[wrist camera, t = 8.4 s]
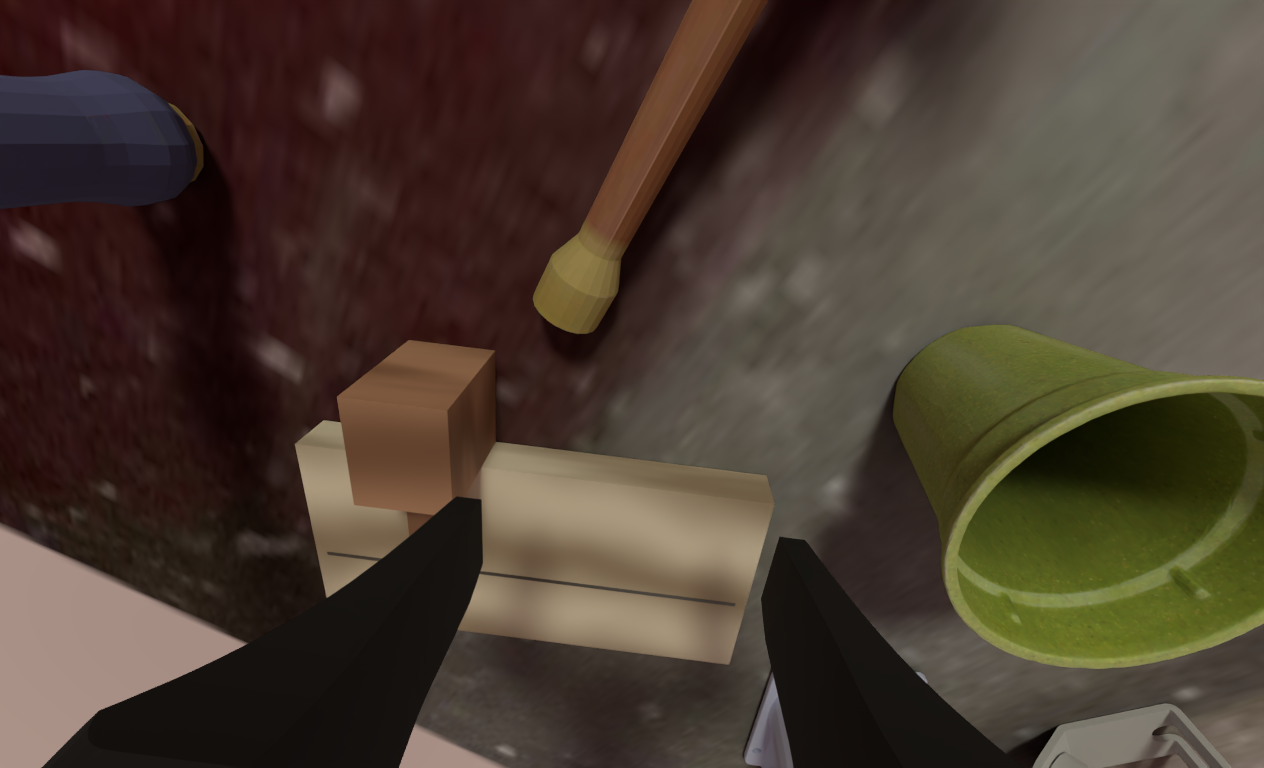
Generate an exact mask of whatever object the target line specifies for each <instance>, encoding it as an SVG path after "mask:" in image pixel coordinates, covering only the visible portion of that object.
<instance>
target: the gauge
mask: <svg viewBox="0 0 1264 768" xmlns="http://www.w3.org/2000/svg"><path fill="white" fill-rule="evenodd" d="M337 401H338V407H339V413H340V420H341V426H342V432H343V439H344V445H345V451H346V457H347V464H348V470H349V476H350V483H351V489H352V495H353V502H354V505H357V506H365V507H373V508H381V509H389V510H397V511H405V512H407V520H408V530H409V536H410V535H412V534H413V533H414V532H415V531H416V530H417V529H419V528H420V527H421V526H422V525H423V524H424V523H426V522H427V521H428V520H429V519H430V518H431V517H433V516H434V515H435V514H436V513H437V512H438V511H439V510H441V509H442V508H443V507H444V506H445V505H446V504H448V503H449V502H450V501H451V500H452V499H454V498H455V497H456V496H458V497H465V496H466V494H467V492H468V490H469V488H470V487H471V485H472V483H473V481H474V479H475V478H476V476H477V474H478V472H479V471H480V469H481V467H482V465H483V463H484V462H485V460H486V458H487V456H488V455H489V453H490V451H491V449H492V447H493V446H494V444H495V442H496V385H495V351H494V350H485V349H477V348H469V347H461V346H453V345H445V344H436V343H428V342H420V341H412V340H408V341H407V342H406V343H405V344H403V345H402V346H401V347H400V348H398V349H397V350H396V351H394V352H393V353H392V354H391V355H389V356H388V357H387V358H386V359H384V360H383V361H382V362H380V363H379V364H378V365H377V366H375V367H374V368H373V369H372V370H370V371H369V372H368V373H367V374H365V375H364V376H363V377H361V378H360V379H359V380H358V381H356V382H355V383H354V384H353V385H351V386H350V387H349V388H348V389H346V390H345V391H344V392H342V393H341V394H340V395H339V396H337Z"/></svg>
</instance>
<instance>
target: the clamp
mask: <svg viewBox="0 0 1264 768" xmlns="http://www.w3.org/2000/svg"><path fill="white" fill-rule="evenodd" d="M1168 725H1173V726H1175V727H1176V728H1177V729H1178V730H1179V731H1180V733H1181V734H1182V735H1183V736H1184V737H1185V738H1186V739H1187V741H1188V742H1189V743H1190V744H1191V745H1192V746H1193V748H1194V749H1195V750H1196V751H1197V752H1198V753H1199V755H1200V756H1201V757H1202V758H1203V759H1204V760H1205V762H1206V763H1207V764H1208V765H1209V766H1210V767H1211V768H1232V767H1231V766H1230V765H1229V764H1228V763H1227V761H1226V760H1225V759H1224V758H1223V757H1222V756H1221V755H1220V754H1219V752H1218V751H1217V750H1216V749H1215V748H1214V747H1213V746H1212V745H1211V744H1210V742H1209V741H1208V740H1207V739H1206V738H1205V737H1204V736H1203V735H1202V734H1201V732H1200V731H1199V730H1198V729H1197V728H1196V727H1195V726H1194V725H1193V723H1192V722H1191V721H1190V720H1189V719H1188V718H1187V717H1186V716H1185V715H1184V713H1183V712H1182V711H1181V710H1180V709H1179V708H1177V707H1176V706H1174V705H1171V704H1165V703H1164V704H1159V705H1155V706H1150V707H1145V708H1140V709H1135V710H1130V711H1125V712H1121V713H1116V714H1111V715H1106V716H1101V717H1096V718H1091V719H1087V720H1082V721H1077V722H1072V723H1067V724H1062V725H1060V726H1058V727H1057V729H1056V731H1055V732H1054V734H1053V735H1052V737H1051V738H1050V740H1049V741H1048V743H1047V744H1046V746H1045V747H1044V749H1043V750H1042V752H1041V753H1040V755H1039V756H1038V758H1037V760H1036V762H1035V764H1034V766H1033V768H1103V767H1108V766H1114V765H1119V764H1124V763H1130V762H1135V761H1141V760H1146V759H1151V758H1157V757H1162V756H1168V755H1173V754H1177V755H1179V756H1180V757H1181V758H1182V760H1183V761H1184V762H1185V763H1186V765H1187V766H1188V767H1189V768H1208V767H1207V766H1206V765H1205V764H1204V763H1203V761H1202V760H1201V759H1200V758H1199V757H1198V756H1197V754H1196V753H1195V752H1194V751H1193V750H1192V749H1191V747H1190V746H1189V745H1188V744H1187V743H1186V742H1185V740H1183V739H1182V738H1181V737H1179V736H1177V735H1174V734H1163V735H1158V736H1156V735H1152V733H1153V731H1154V730H1155V729H1157V728H1159V727H1162V726H1168Z"/></svg>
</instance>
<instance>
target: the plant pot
mask: <svg viewBox="0 0 1264 768" xmlns="http://www.w3.org/2000/svg"><path fill="white" fill-rule="evenodd" d="M893 420H894V424H895V427H896V429H897V431H898V433H899V436H900V438H901V440H902V443H903V445H904V447H905V449H906V451H907V453H908V455H909V457H910V459H911V462H912V464H913V466H914V468H915V470H916V472H917V474H918V477H919V479H920V481H921V483H922V485H923V488H924V490H925V492H926V494H927V496H928V499H929V501H930V503H931V505H932V508H933V510H934V512H935V514H936V516H937V519H938V523H939V534H940V540H941V543H942V550H941V572H942V579H943V583H944V586H945V589H946V592H947V595H948V597H949V599H950V601H951V603H952V605H953V607H954V609H955V611H956V612H957V613H958V615H959V616H960V618H961V619H962V620H963V621H964V622H965V624H966V625H967V626H968V627H969V628H970V629H972V630H973V631H974V632H975V633H976V634H977V635H979V636H980V637H982V638H983V639H984V640H986V641H987V642H989V643H991V644H992V645H994V646H995V647H997V648H999V649H1001V650H1003V651H1005V652H1007V653H1010V654H1012V655H1014V656H1018V657H1021V658H1023V659H1026V660H1032V661H1036V662H1039V663H1043V664H1049V665H1055V666H1061V667H1071V668H1091V669H1107V668H1118V667H1130V666H1137V665H1143V664H1149V663H1154V662H1158V661H1163V660H1168V659H1173V658H1176V657H1180V656H1184V655H1187V654H1190V653H1193V652H1197V651H1200V650H1203V649H1207V648H1211V647H1213V646H1216V645H1218V644H1221V643H1223V642H1226V641H1228V640H1231V639H1233V638H1235V637H1237V636H1239V635H1242V634H1244V633H1246V632H1247V631H1250V630H1251V629H1253V628H1255V627H1258V626H1260V625H1262V624H1264V380H1259V379H1254V378H1246V377H1236V376H1211V375H1208V376H1193V375H1188V374H1182V373H1174V372H1163V371H1153V370H1149V369H1146V368H1143V367H1140V366H1137V365H1134V364H1131V363H1128V362H1125V361H1122V360H1118V359H1115V358H1112V357H1109V356H1106V355H1103V354H1100V353H1096V352H1093V351H1090V350H1087V349H1084V348H1081V347H1078V346H1075V345H1071V344H1068V343H1065V342H1062V341H1059V340H1056V339H1053V338H1050V337H1047V336H1044V335H1041V334H1038V333H1035V332H1032V331H1029V330H1026V329H1023V328H1020V327H1016V326H1012V325H987V326H975V327H965V328H962V329H959V330H956V331H953V332H951V333H948V334H946V335H944V336H942V337H941V338H939V339H937V340H935V341H934V342H932V343H931V344H929V345H928V346H926V347H925V348H924V349H923V350H922V351H921V352H919V353H918V354H917V355H916V356H915V357H914V358H913V359H912V361H911V362H910V363H909V364H908V365H907V367H906V368H905V369H904V371H903V372H902V374H901V376H900V378H899V380H898V382H897V386H896V392H895V399H894V407H893Z"/></svg>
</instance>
